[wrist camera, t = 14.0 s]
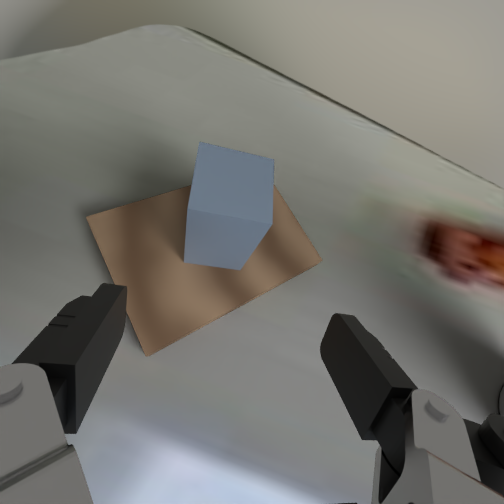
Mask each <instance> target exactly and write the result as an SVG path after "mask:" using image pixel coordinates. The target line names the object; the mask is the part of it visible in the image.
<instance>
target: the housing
mask: <svg viewBox="0 0 504 504" xmlns="http://www.w3.org/2000/svg"><path fill="white" fill-rule="evenodd" d="M273 185H274V159H270V158H266V157H262V156H257V155H253V154H249V153H245V152H241V151H237V150H232V149H228V148H224V147H220V146H216V145H211V144H207V143H203V142H199V147H198V153H197V158H196V164H195V169H194V175H193V180H192V186H191V192H190V197H189V203H188V208H187V222H186V237H185V252H184V263H191V264H198V265H205V266H213V267H220V268H227V269H234V270H241V269H242V267H243V266H244V264H245V263H246V261H247V260H248V259H249V257H250V256H251V254H252V253H253V251H254V250H255V249H256V247H257V246H258V244H259V243H260V241H261V240H262V238H263V237H264V236H265V234H266V233H267V231H268V230H269V228H270V227H271V226H272V222H273Z"/></svg>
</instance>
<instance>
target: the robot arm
mask: <svg viewBox="0 0 504 504" xmlns="http://www.w3.org/2000/svg"><path fill="white" fill-rule="evenodd" d="M126 305H127V286H123V285H115V284H107V283H103V284H101V285H100V287H99V288H98V289H97V291H96V292H95V293H94V294H93V296H92V297H91V296H80V297H78V298H76V299H75V300H73V301H71V302H69V303H67V304H66V305H65V306H64V307H63V308H62V310H61V311H60V312H59V313H58V314H57V316H56V317H54V318H53V319H52V320H51V322H50V323H49V325H48V326H46V327H45V328H44V329H43V330H42V331H41V332H40V334H39V335H38V336H37V337H36V338H35V339H34V340H33V341H32V342H31V343H30V344H29V346H28V347H27V348H26V349H25V350H24V351H23V352H22V353H21V354H20V355H19V356H18V358H17V359H16V360H15V361H14V362H13V363H12V364H10V365H6V366H2V367H0V504H93V501H92V498H91V495H90V492H89V488H88V485H87V482H86V479H85V476H84V473H83V470H82V467H81V464H80V461H79V458H78V455H77V452H76V450H75V448H74V446H73V445H72V444H71V445H68V443H67V440H66V437H65V434H76V433H77V431H78V429H79V427H80V425H81V423H82V421H83V418H84V416H85V414H86V412H87V410H88V408H89V406H90V404H91V402H92V399H93V397H94V395H95V393H96V391H97V389H98V387H99V385H100V383H101V381H102V378H103V376H104V374H105V372H106V370H107V368H108V366H109V364H110V362H111V360H112V357H113V355H114V353H115V351H116V349H117V347H118V345H119V343H120V341H121V338H122V335H123V332H124V327H125V319H126ZM320 353H321V358H322V360H323V362H324V364H325V366H326V368H327V370H328V372H329V374H330V376H331V378H332V380H333V382H334V384H335V386H336V388H337V390H338V392H339V394H340V396H341V398H342V400H343V402H344V404H345V407H346V409H347V411H348V413H349V415H350V417H351V419H352V421H353V423H354V425H355V427H356V429H357V431H358V433H359V435H360V437H361V439H362V440H377V441H378V442H379V444H380V446H379V448H378V449H377V451H376V457H375V468H374V479H373V491H372V502H371V504H504V386H503V388H502V391H501V393H500V400H499V407H500V415H498V414H491V415H489V416H488V417H487V419H486V420H485V421H484V422H483V424H482V425H480V424H478V423H475V422H472V421H469V420H466V419H463V418H462V417H461V416H460V414H459V413H458V412H457V411H456V409H455V408H454V407H453V406H452V405H450V404H449V403H448V402H447V401H445V400H444V399H443V398H441V397H440V396H438V395H436V394H434V393H432V392H430V391H427V390H423V389H418V388H417V387H416V385H415V384H414V383H413V382H412V381H411V379H410V378H409V377H408V376H407V375H406V373H405V372H404V371H403V370H402V368H401V367H400V366H399V365H398V364H397V362H396V361H395V360H394V359H392V356H391V355H390V354H389V353H388V352H387V350H385V348H384V347H383V345H382V344H381V343H380V342H379V341H378V339H377V338H376V337H374V336H373V335H372V334H371V333H369V332H368V331H367V330H366V329H365V328H364V327H363V326H362V324H361V323H360V322H359V321H358V319H357V318H356V317H355V316H353V315H346V314H338V313H335V314H334V315H333V316H332V317H331V320H330V322H329V325H328V327H327V330H326V332H325V334H324V337H323V339H322V342H321V346H320ZM340 504H357V503H340Z"/></svg>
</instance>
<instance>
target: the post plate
mask: <svg viewBox="0 0 504 504" xmlns="http://www.w3.org/2000/svg"><path fill="white" fill-rule="evenodd" d="M191 186H192V185H190V186H187V187H183V188H180V189H177V190H173V191H170V192H167V193H163V194H160V195H157V196H153V197H150V198H147V199H143V200H140V201H137V202H133V203H130V204H127V205H123V206H120V207H117V208H114V209H110V210H107V211H104V212H100V213H97V214H94V215H90V216H87V217H86V219H87V221H88V223H89V226H90V228H91V230H92V233H93V235H94V237H95V239H96V242H97V244H98V246H99V249H100V251H101V253H102V256H103V258H104V260H105V263H106V265H107V267H108V270H109V272H110V274H111V277H112V279H113V281H114V284H115V285H123V286H127V305H126V311H127V314H128V316H129V318H130V321H131V323H132V325H133V328H134V330H135V332H136V335H137V337H138V339H139V342H140V344H141V346H142V349H143V351H144V353H145V356H150V355H152V354H154V353H155V352H157V351H159V350H161V349H163V348H165V347H166V346H168V345H170V344H172V343H174V342H176V341H178V340H179V339H181V338H183V337H185V336H187V335H189V334H190V333H192V332H194V331H196V330H198V329H200V328H201V327H203V326H205V325H207V324H209V323H211V322H212V321H214V320H216V319H218V318H220V317H222V316H223V315H225V314H227V313H229V312H231V311H233V310H235V309H236V308H238V307H240V306H242V305H244V304H246V303H247V302H249V301H251V300H253V299H255V298H257V297H258V296H260V295H262V294H264V293H266V292H268V291H269V290H271V289H273V288H275V287H277V286H279V285H280V284H282V283H284V282H286V281H288V280H290V279H291V278H293V277H295V276H297V275H299V274H301V273H303V272H304V271H306V270H308V269H310V268H312V267H314V266H315V265H317V264H318V263H319V262H321V261H322V259H321V257H320V256H319V254H318V252H317V251H316V249H315V248H314V246H313V245H312V243H311V241H310V240H309V238H308V237H307V235H306V234H305V232H304V231H303V229H302V227H301V226H300V224H299V223H298V221H297V220H296V218H295V216H294V215H293V213H292V212H291V210H290V209H289V207H288V205H287V204H286V202H285V201H284V199H283V198H282V196H281V195H280V193H279V191H278V190H277V188H276V187H275V185H273V222H272V226H271V227H270V228H269V230H268V231H267V233H266V234H265V236H264V237H263V238H262V240H261V241H260V243H259V244H258V246H257V247H256V249H255V250H254V251H253V253H252V254H251V256H250V257H249V259H248V260H247V261H246V263H245V264H244V266H243V267H242V269H241V270H234V269H227V268H220V267H213V266H205V265H198V264H191V263H184V252H185V237H186V222H187V208H188V203H189V197H190V192H191Z"/></svg>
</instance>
